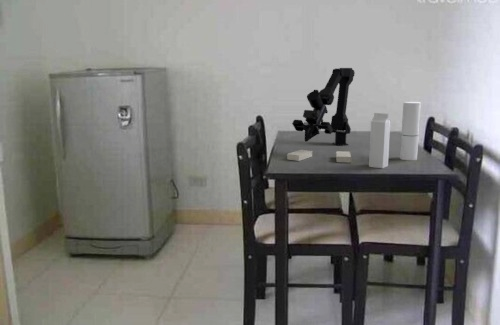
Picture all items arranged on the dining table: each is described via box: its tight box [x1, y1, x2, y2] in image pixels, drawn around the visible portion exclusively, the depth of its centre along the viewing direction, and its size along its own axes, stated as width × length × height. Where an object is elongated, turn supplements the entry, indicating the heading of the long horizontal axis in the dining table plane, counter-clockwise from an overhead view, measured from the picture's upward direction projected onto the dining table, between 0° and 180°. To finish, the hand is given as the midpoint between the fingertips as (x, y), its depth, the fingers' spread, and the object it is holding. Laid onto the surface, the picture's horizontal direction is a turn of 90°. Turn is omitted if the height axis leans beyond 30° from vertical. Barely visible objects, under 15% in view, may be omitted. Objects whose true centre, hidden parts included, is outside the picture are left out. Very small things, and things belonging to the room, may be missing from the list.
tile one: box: [335, 150, 352, 164], centre depth 207 cm, size 3×6×12 cm
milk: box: [368, 112, 391, 169], centre depth 192 cm, size 6×6×22 cm
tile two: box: [286, 149, 313, 162], centre depth 211 cm, size 3×6×12 cm
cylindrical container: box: [399, 101, 422, 161], centre depth 206 cm, size 7×7×25 cm
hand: (305, 141), depth 214 cm, fingers closed
